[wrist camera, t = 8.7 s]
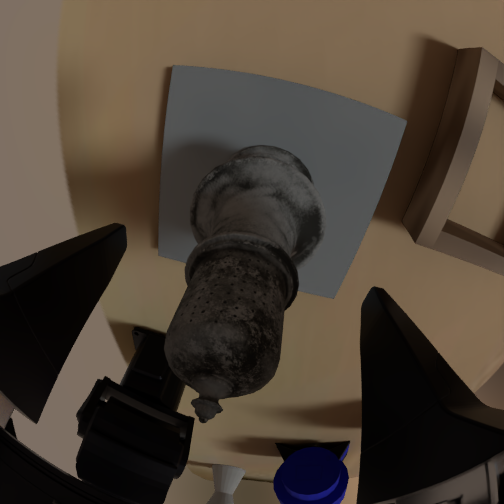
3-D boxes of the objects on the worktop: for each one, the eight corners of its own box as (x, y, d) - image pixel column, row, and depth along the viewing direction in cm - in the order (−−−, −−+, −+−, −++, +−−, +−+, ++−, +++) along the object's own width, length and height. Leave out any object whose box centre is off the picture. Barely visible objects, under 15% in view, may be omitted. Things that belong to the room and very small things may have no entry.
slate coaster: (332, 291, 19) (333, 298, 18) (163, 249, 19) (158, 255, 18) (402, 118, 12) (407, 121, 11) (179, 65, 12) (173, 65, 12)
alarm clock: (283, 457, 43) (273, 524, 31) (272, 438, 37) (259, 523, 25) (346, 454, 40) (343, 523, 28) (351, 435, 34) (348, 523, 22)
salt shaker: (190, 176, 15) (41, 356, 5) (283, 118, 13) (229, 270, 3) (249, 255, 17) (196, 458, 7) (339, 213, 15) (380, 443, 5)
